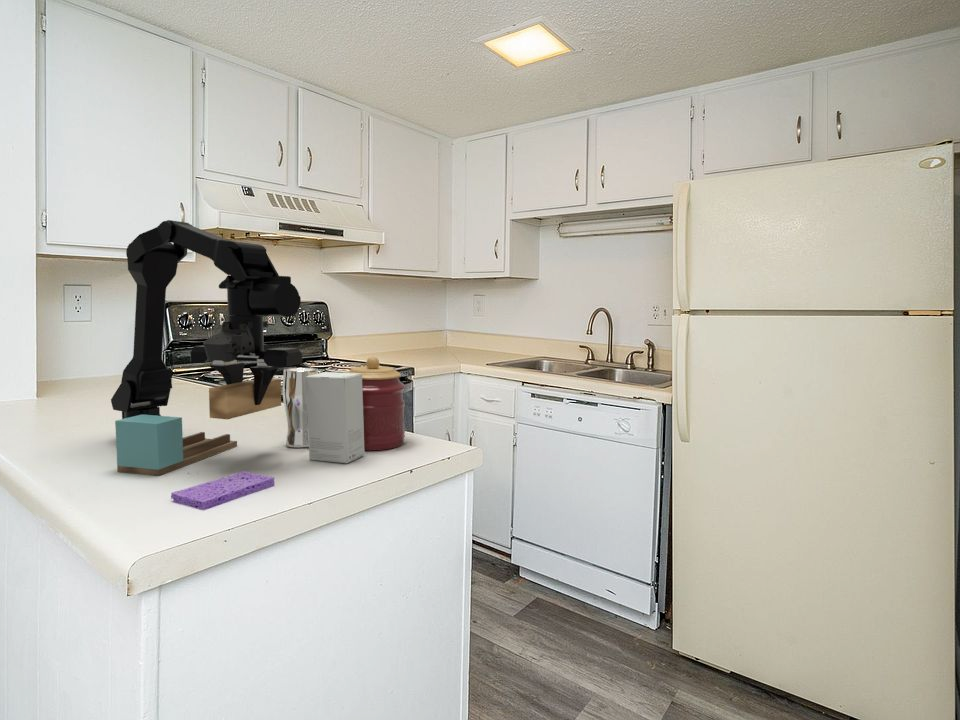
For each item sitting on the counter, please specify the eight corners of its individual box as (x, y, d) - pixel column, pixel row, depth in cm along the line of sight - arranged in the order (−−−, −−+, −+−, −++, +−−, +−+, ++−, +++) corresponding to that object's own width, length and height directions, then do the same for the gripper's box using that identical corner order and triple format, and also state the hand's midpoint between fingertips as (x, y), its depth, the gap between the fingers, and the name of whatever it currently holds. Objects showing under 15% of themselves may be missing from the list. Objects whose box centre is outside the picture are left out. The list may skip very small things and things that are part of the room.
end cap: (117, 465, 95) (115, 420, 94) (143, 457, 100) (142, 414, 99) (158, 469, 93) (156, 424, 92) (183, 460, 98) (181, 417, 97)
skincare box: (365, 456, 107) (365, 373, 106) (345, 465, 101) (345, 377, 100) (326, 451, 110) (326, 370, 108) (305, 460, 104) (304, 374, 102)
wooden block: (209, 417, 96) (208, 388, 95) (265, 404, 109) (264, 377, 109) (227, 419, 95) (226, 389, 94) (281, 405, 108) (280, 379, 107)
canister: (334, 438, 120) (334, 354, 118) (395, 434, 125) (396, 353, 123) (346, 454, 108) (345, 361, 106) (412, 448, 113) (413, 359, 112)
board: (117, 471, 95) (116, 456, 94) (201, 443, 114) (201, 430, 114) (158, 475, 93) (158, 460, 93) (237, 446, 112) (236, 433, 112)
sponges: (275, 488, 90) (275, 476, 89) (202, 513, 79) (202, 500, 78) (244, 481, 93) (243, 470, 93) (170, 504, 82) (170, 491, 82)
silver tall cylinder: (309, 449, 111) (309, 371, 109) (276, 447, 112) (275, 370, 111) (325, 441, 117) (325, 368, 116) (294, 439, 119) (293, 367, 117)
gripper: (164, 315, 94) (168, 409, 96) (266, 318, 90) (268, 416, 92) (210, 314, 105) (213, 398, 107) (303, 316, 101) (304, 404, 103)
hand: (247, 404), depth 102 cm, fingers closed on wooden block, 4 cm apart
